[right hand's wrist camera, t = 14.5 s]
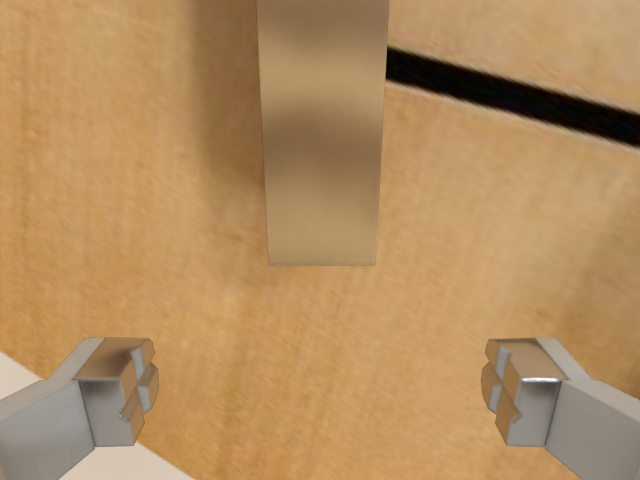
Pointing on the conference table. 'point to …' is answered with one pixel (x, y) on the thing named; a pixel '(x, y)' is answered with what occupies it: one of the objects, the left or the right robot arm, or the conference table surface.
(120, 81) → the conference table surface
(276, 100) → the box
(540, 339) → the right robot arm
